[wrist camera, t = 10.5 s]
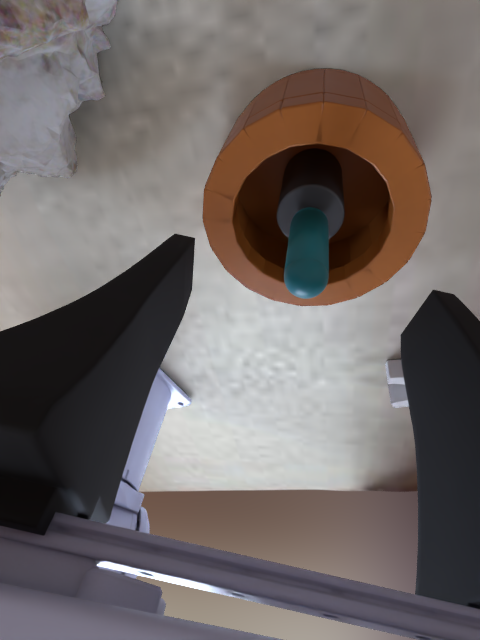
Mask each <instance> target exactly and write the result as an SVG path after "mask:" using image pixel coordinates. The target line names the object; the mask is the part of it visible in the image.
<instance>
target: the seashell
mask: <svg viewBox="0 0 480 640" xmlns="http://www.w3.org/2000/svg"><path fill="white" fill-rule="evenodd" d="M117 3H118V0H0V196H1V191H2V190H3V189H4V184H6V183H7V181H8V180H9V179H10V178H11V177H14V176H16V174H17V172H23V173H28V174H36V175H39V176H41V177H47V176H52V177H60V176H61V177H64V178H69V177H72V176H73V175H74V174H75V173H76V169H77V154H76V151H75V145H76V141H77V138H76V135H75V132H74V130H73V127H72V124H71V121H70V118H69V114H71V113H72V112H74V111H75V110H77V109H78V108H79V107H80V105H81V103H82V101H87V100H99V99H101V98H103V97H104V96H105V93H104V91H103V88H102V81H101V79H100V76H99V67H98V59H97V53H98V52H100V51H103V50H106V49H109V48H111V46H110V43H109V40H108V38H107V36H106V35H105V34H104V32H103V31H102V25H107V24H109V23H110V21H111V20H112V18H113V17H114V16H115V12H116V7H117Z"/></svg>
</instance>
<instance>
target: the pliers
mask: <svg viewBox="0 0 480 640" xmlns="http://www.w3.org/2000/svg"><path fill="white" fill-rule="evenodd" d="M385 366H386V373H387V380H388V383H390V384H389V385H388V386H389V393H390V400H391V404H392V406H393V407H394V408H395V407H409V404H408V399H407V393H406V388H405V382H404V376H403V371H402V364H401V360H387V362H386V365H385Z"/></svg>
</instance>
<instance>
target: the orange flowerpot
mask: <svg viewBox="0 0 480 640" xmlns="http://www.w3.org/2000/svg"><path fill="white" fill-rule="evenodd" d="M312 148H318V149H323V150H326V151H328V152H330V153H331V154H333V155H334V156H335V157H336V158H337V160H338V161H339V163H340V166H341V169H342V180H343V194H344V209H345V216H344V220H343V223H342V225H341V227H340V229H339V230H338V232H337V233H336V234H335V235H334V236H333V237H331V238H330V239H329V279H328V283H327V286H326V288H325V289H324V290H323V292H321V293H320V294H319V295H318V296H316V297H313V298H309V299H303V298H299V297H296V296H294V295H293V294H292V293H290V292H289V290H288V289H287V287H286V285H285V282H284V270H285V263H286V255H287V248H288V240H289V238H288V237H286V236H285V235H284V233H283V232H282V231H281V229H280V228H279V225H278V222H277V208H278V203H279V197H280V192H281V187H282V182H283V177H284V172H285V168H286V166H287V164H288V163H289V161H290V160H291V159H292V158H293V157H294V156H295V155H296V154H298V153H299V152H301V151H303V150H306V149H312ZM430 205H431V192H430V187H429V182H428V177H427V172H426V167H425V163H424V161H423V159H422V157H421V155H420V153H419V150H418V148H417V146H416V144H415V141H414V139H413V137H412V135H411V133H410V131H409V128H408V126H407V124H406V122H405V120H404V118H403V117H402V115H401V114H400V112H399V111H398V109H397V107H396V106H395V105H394V103H393V102H392V100H391V99H390V98H389V96H388V95H386V93H385V92H383V91H382V90H381V89H380V88H379V87H378V86H376V85H375V84H373V83H372V82H371V81H369V80H367V79H365V78H363V77H361V76H359V75H357V74H353V73H350V72H347V71H343V70H336V69H312V70H306V71H301V72H298V73H295V74H292V75H289V76H286V77H284V78H282V79H280V80H278V81H276V82H275V83H273V84H272V85H270V86H269V87H267V88H266V89H264V90H263V91H262V92H261V93H260V94H258V95H257V96H256V97H255V98H254V99H253V100H252V101H251V103H250V104H249V105H248V106H247V107H246V108H245V110H244V111H243V113H242V114H241V115H240V116H239V117H238V119H237V121H236V123H235V124H234V126H233V128H232V130H231V132H230V134H229V136H228V138H227V139H226V141H225V143H224V145H223V147H222V149H221V151H220V153H219V155H218V156H217V158H216V161H215V163H214V166H213V168H212V170H211V173H210V175H209V178H208V180H207V182H206V185H205V189H204V201H203V223H204V226H205V230H206V233H207V237H208V240H209V244H210V247H211V248H212V250H213V251H214V253H215V254H216V256H217V257H218V259H219V260H220V262H221V263H222V265H223V266H224V268H225V269H226V270H227V272H228V273H230V274H231V275H232V276H233V277H234V278H236V279H237V280H238V281H239V282H240V283H241V284H243V285H244V286H245V287H246V288H248V289H250V290H252V291H254V292H256V293H258V294H260V295H262V296H265V297H267V298H269V299H271V300H272V299H273V300H274V301H279V302H284V303H288V304H293V305H298V306H299V305H300V306H320V305H331V304H335V303H339V302H343V301H347V300H350V299H354V298H357V296H358V297H360V296H362V295H363V294H365V293H367V292H369V291H371V290H373V289H375V288H376V287H378V286H380V285H382V284H384V282H387V281H388V280H389V279H390V278H391V277H392V276H393V275H394V274H395V273H396V272H398V271H399V270H400V269H401V268H402V267H403V266H404V265H405V264H406V263H407V262H408V260H410V258H411V256H412V254H413V253H414V251H415V249H416V248H417V246H418V244H419V242H420V241H421V239H422V237H423V235H424V234H425V231H426V226H427V221H428V216H429V210H430Z"/></svg>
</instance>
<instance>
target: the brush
mask: <svg viewBox="0 0 480 640" xmlns="http://www.w3.org/2000/svg"><path fill="white" fill-rule="evenodd" d="M344 216H345V209H344V194H343V180H342V169H341V166H340V163H339V161H338V160H337V158H336V157H335V156H334V155H333V154H331V153H330V152H328V151H326V150H323V149H318V148H312V149H306V150H303V151H301V152H299V153H298V154H296V155H295V156H294V157H293V158H292V159H291V160H290V161H289V163H288V164H287V166H286V168H285V172H284V177H283V182H282V187H281V192H280V197H279V203H278V208H277V222H278V225H279V228H280V229H281V231H282V232H283V233H284V235H285V236H286V237H288V238H289V240H288V248H287V255H286V263H285V270H284V282H285V285H286V287H287V289H288V290H289V292H290V293H292V294H293V295H294V296H296V297H299V298H303V299H309V298H313V297H316V296H318V295H319V294H320V293H321V292H323V290H324V289H325V288H326V286H327V283H328V279H329V239H330V238H331V237H333V236H334V235H335V234H336V233H337V232H338V230H339V229H340V227H341V225H342V223H343V220H344Z"/></svg>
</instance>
